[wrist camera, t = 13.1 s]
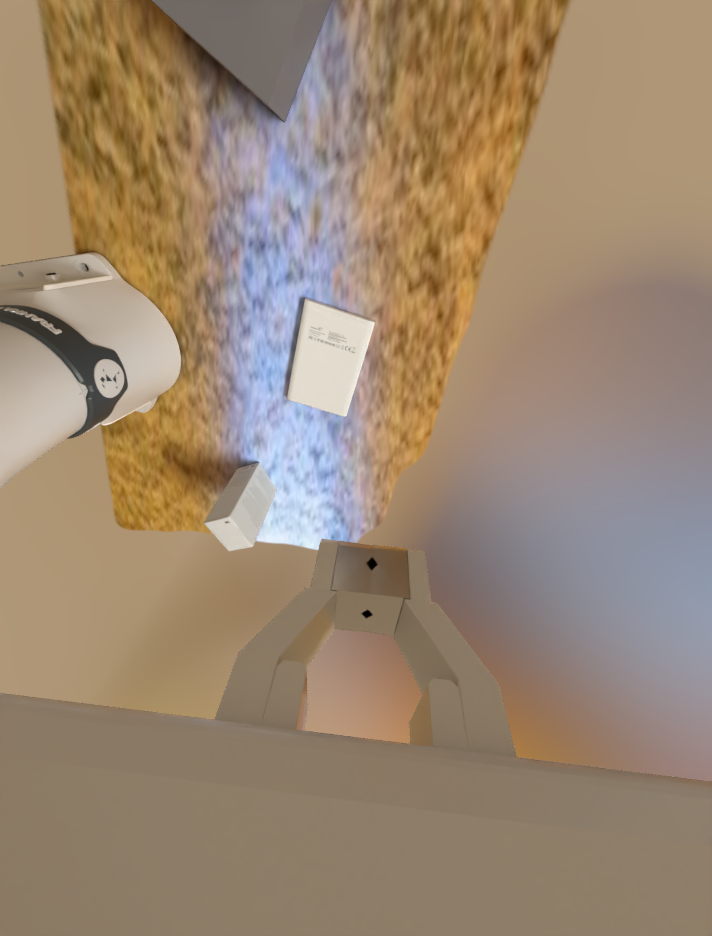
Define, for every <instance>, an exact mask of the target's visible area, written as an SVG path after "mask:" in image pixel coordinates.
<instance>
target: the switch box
mask: <svg viewBox="0 0 712 936" xmlns="http://www.w3.org/2000/svg"><path fill="white" fill-rule="evenodd" d="M152 1H153V2H154V3H155V4H156V5H157V6H158V7H159V8H160V9H161V10H162V11H163V12H164V13H165V14H166V15H167V16H168V17H169V18H170V19H171V20H172V21H173V22H174V23H175V24H176V25H177V26H178V27H179V28H181V29H182V30H183V31H184V32H185V33H186V34H187V35H188V36H189V37H190V38H191V39H192V40H193V41H195V42H196V43H197V44H198V45H199V46H200V47H201V48H202V49H204V50H205V51H206V52H207V53H208V54H209V55H210V56H211V57H212V58H214V59H215V60H216V61H217V62H218V63H219V64H220V65H221V66H222V67H224V68H225V69H226V70H227V71H228V72H229V73H230V74H231V75H233V76H234V77H235V78H236V79H237V80H238V81H239V82H240V83H241V84H243V85H244V86H245V87H246V88H247V89H248V90H249V91H250V92H252V93H253V94H254V95H255V96H256V97H257V98H258V99H259V100H260V101H262V102H263V103H264V104H265V105H266V106H267V107H268V108H269V109H270V110H272V111H273V112H274V113H275V114H276V115H277V116H278V117H279V118H281V119H282V120H283V121H284V122H285V121H286V118H287V116H288V113H289V111H290V108H291V105H292V103H293V100H294V97H295V95H296V92H297V90H298V87H299V84H300V82H301V79H302V77H303V74H304V71H305V69H306V66H307V63H308V61H309V58H310V56H311V53H312V50H313V48H314V45H315V43H316V40H317V37H318V35H319V32H320V29H321V27H322V24H323V22H324V19H325V16H326V14H327V11H328V9H329V6H330V3H331V1H332V0H152Z"/></svg>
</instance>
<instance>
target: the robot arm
mask: <svg viewBox="0 0 712 936" xmlns="http://www.w3.org/2000/svg"><path fill="white" fill-rule="evenodd" d="M85 264H86V265H87V266H88V268H89V270H88V269H87V268H86V266H85ZM180 366H181V356H180V350H179V346H178V342H177V339H176V337H175V334H174V332H173V330H172V328H171V326H170V325H169V323H168V321H167V320H166V318H165V317H164V316H163V314H162V313H161V312H160V311H159V309H158V308H157V307H156V306H155V305H154V304H153V303H152V302H151V301H150V300H149V299H148V298H147V297H146V296H144V295H143V294H142V293H141V292H139V291H138V290H136V289H135V288H134V287H132V286H131V285H129V284H128V283H127V282H126V281H125V280H123V279H122V278H121V276H120V275H119V274H118V273H117V271H116V270H115V269H114V268H113V266H112V265H111V264H110V263H109V262H108V261H107V260H106V259H105V258H104V257H103V256H102V255H100V254H99V253H96V252H89V253H82V254H76V255H69V256H63V257H56V258H49V259H42V260H36V261H29V262H22V263H16V264H9V265H2V266H0V490H1V488H2V487H3V486H4V485H5V484H7V482H9V481H10V480H11V479H12V478H13V477H14V476H15V475H16V474H18V473H19V472H20V471H21V470H23V469H24V468H26V467H27V466H28V465H30V464H31V463H32V462H34V461H35V460H36V459H38V458H39V457H40V456H42V455H43V454H45V453H46V452H48V451H49V450H50V449H52V448H53V447H55V446H56V445H58V444H59V443H61V442H62V441H63V440H65V439H68V438H74V437H77V436H79V435H81V434H83V433H85V432H88V431H90V430H91V429H93V428H95V427H96V426H98V425H99V424H102V425H109V424H111V423H113V422H115V421H117V420H119V419H121V418H123V417H124V416H126V415H128V414H130V413H132V412H134V411H137V412H141V413H145V412H147V411H149V410H151V409H152V408H153V406H154V404H155V402H156V400H157V397H158V396H159V395H161V394H162V393H164V392H165V391H167V390H168V389H170V388H171V387H172V386H173V384H174V383H175V382H176V380H177V378H178V375H179V372H180ZM334 629H340V630H351V631H363V632H370V633H376V634H383V635H390V636H394V640H395V641H396V643H397V645H398V647H399V649H400V651H401V653H402V655H403V657H404V659H405V661H406V663H407V665H408V667H409V669H410V670H411V672H412V674H413V676H414V678H415V680H416V682H417V684H418V686H419V688H420V690H421V692H422V693H423V696H422V698H421V700H420V702H419V704H418V706H417V708H416V710H415V712H414V714H413V716H412V718H411V720H410V722H409V728H410V744H406V743H398V742H390V741H382V740H374V739H366V738H358V737H350V736H342V735H334V734H326V733H318V732H310V731H304V728H305V722H306V716H307V669H306V668H307V667H308V665H309V664H310V663H311V661H312V660H313V659H314V657H315V656H316V655H317V653H318V652H319V650H320V649H321V648H322V646H323V645H324V644H325V642H326V641H327V640H328V638H329V637H330V636H331V634H332V633H333V631H334ZM0 936H712V781H704V780H703V781H702V780H695V779H687V778H679V777H671V776H663V775H655V774H647V773H639V772H631V771H623V770H615V769H606V768H599V767H591V766H583V765H575V764H567V763H559V762H550V761H543V760H534V759H527V758H519V757H517V756H516V752H515V748H514V744H513V740H512V736H511V732H510V727H509V724H508V720H507V715H506V711H505V707H504V704H503V699H502V695H501V691H500V686H499V684H498V683H497V681H496V680H495V679H494V677H493V676H492V675H491V674H490V672H489V671H488V670H487V668H486V667H485V666H484V664H483V663H482V662H481V660H480V659H479V658H478V656H477V655H476V654H475V653H474V651H473V650H472V649H471V647H470V646H469V645H468V643H467V642H466V641H465V639H464V638H463V637H462V635H461V634H460V633H459V632H458V630H457V629H456V628H455V627H454V625H453V624H452V622H451V621H450V620H449V618H448V617H447V616H446V615H445V613H444V612H443V611H442V609H441V608H440V607H439V605H438V604H437V603H434V602H431V596H430V588H429V580H428V571H427V563H426V554H425V552H424V551H423V550H413V549H406V548H397V547H388V546H378V545H365V544H358V543H351V542H344V541H335V540H327V539H322V540H321V542H320V545H319V550H318V555H317V559H316V564H315V568H314V573H313V578H312V582H311V587H310V588H304V589H303V590H302V591H301V592H300V593H299V594H298V595H297V596H296V597H295V598H294V599H293V600H292V601H291V602H290V603H289V604H288V605H287V606H286V607H285V608H284V609H283V610H281V611H280V612H279V613H278V614H277V615H276V616H275V617H274V618H273V619H272V620H271V621H270V622H269V623H268V624H267V625H266V626H265V627H264V628H263V629H262V630H261V631H260V632H259V633H258V634H257V635H256V636H255V637H254V638H253V639H252V640H251V641H250V642H249V643H248V644H247V645H246V646H245V647H244V648H243V649H242V650H241V651H240V652H239V653H238V655H237V658H236V661H235V664H234V667H233V669H232V672H231V675H230V678H229V680H228V683H227V686H226V689H225V691H224V694H223V697H222V700H221V703H220V705H219V709H218V711H217V714H216V717H215V719H205V718H197V717H190V716H181V715H173V714H165V713H157V712H149V711H141V710H133V709H125V708H117V707H109V706H101V705H93V704H85V703H77V702H68V701H61V700H53V699H45V698H37V697H28V696H20V695H13V694H5V693H0Z"/></svg>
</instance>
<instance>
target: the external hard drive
mask: <svg viewBox="0 0 712 936" xmlns="http://www.w3.org/2000/svg"><path fill="white" fill-rule="evenodd" d="M374 324H375V321H374V320H371V319H368V318H365V317H362V316H359V315H356V314H353V313H350V312H345V311H342V310H340V309H337V308H335V307H333V306H330V305H327V304H324V303H321V302H318V301H315V300H312V299H309V298H306V299H305V302H304V307H303V313H302V318H301V323H300V329H299V334H298V339H297V345H296V350H295V356H294V362H293V367H292V372H291V378H290V384H289V389H288V395H287V399H289V400H291V401H294V402H297V403H301V404H304V405H307V406H311V407H314V408H317V409H320V410H324V411H327V412H330V413H333V414H337V415H340V416H344V417H346V415H347V412H348V409H349V405H350V402H351V399H352V396H353V393H354V389H355V386H356V383H357V380H358V376H359V373H360V370H361V367H362V363H363V360H364V357H365V354H366V350H367V347H368V344H369V340H370V337H371V334H372V331H373V327H374Z"/></svg>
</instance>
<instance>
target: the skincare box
mask: <svg viewBox="0 0 712 936" xmlns="http://www.w3.org/2000/svg"><path fill="white" fill-rule="evenodd" d="M276 491H277V489H276V488H275V486H274V485H273V483H272V482H271V480H270V478H269V477H268V475H267V474H266V472H265V471H264V469H263V468H262V466H261V464H260V463H255V464H252V465H248V466H244V467H241V468H238V469H237V470H236V471H235V473H234V475H233V476H232V478H231V480H230V481H229V483H228V484H227V486H226V488H225V489H224V491H223V493H222V494H221V496H220V497H219V499H218V501H217V502H216V504H215V505H214V507H213V509H212V510H211V512H210V514H209V515H208V517H207V518H206V520H205V522H204V524H205V525H206V526H207V527H208V528H209V529H210V531H211V532H212V533H213V534H214V535H215V536H216V537H217V539H218V540H219V541H220V542H221V543H222V544H223V545H224V546H225V548H226V549H227V550H228V551H232V550H237V549H242V548H247V547H253V545H254V543H255V540H256V538H257V536H258V533H259V531H260V529H261V526H262V524H263V522H264V519H265V517H266V514H267V512H268V510H269V507H270V505H271V503H272V500H273V498H274V496H275V493H276Z"/></svg>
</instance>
